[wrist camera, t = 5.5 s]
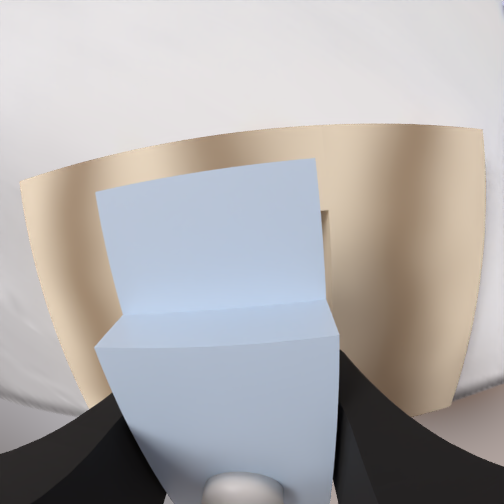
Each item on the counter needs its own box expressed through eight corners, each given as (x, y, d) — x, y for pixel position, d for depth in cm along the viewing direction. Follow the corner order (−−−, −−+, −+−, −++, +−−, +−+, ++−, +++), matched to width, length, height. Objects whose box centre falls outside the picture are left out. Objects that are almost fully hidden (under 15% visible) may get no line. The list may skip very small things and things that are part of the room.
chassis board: (453, 132, 12) (482, 129, 10) (434, 381, 16) (450, 406, 13) (50, 176, 14) (19, 181, 11) (113, 400, 17) (98, 426, 15)
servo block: (298, 159, 8) (338, 155, 3) (315, 450, 11) (325, 553, 6) (153, 180, 8) (34, 206, 4) (219, 455, 11) (201, 554, 7)
